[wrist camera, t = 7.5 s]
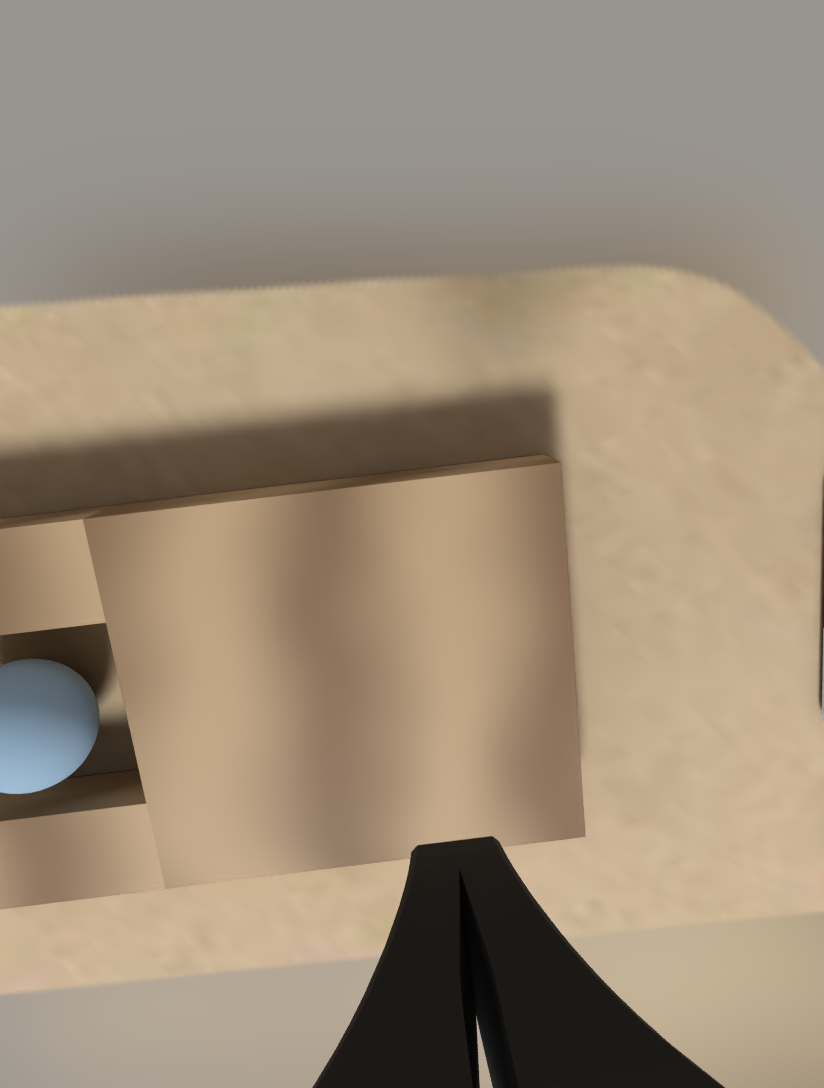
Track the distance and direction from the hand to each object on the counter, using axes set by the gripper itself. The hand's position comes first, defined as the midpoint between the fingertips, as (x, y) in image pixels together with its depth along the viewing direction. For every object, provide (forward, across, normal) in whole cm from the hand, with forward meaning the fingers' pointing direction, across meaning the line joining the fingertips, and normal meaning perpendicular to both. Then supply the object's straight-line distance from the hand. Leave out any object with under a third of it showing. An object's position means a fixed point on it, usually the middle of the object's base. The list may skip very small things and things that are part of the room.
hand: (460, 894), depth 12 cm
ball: (+9, +11, 0) cm, 14 cm away
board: (+10, +7, 0) cm, 13 cm away
